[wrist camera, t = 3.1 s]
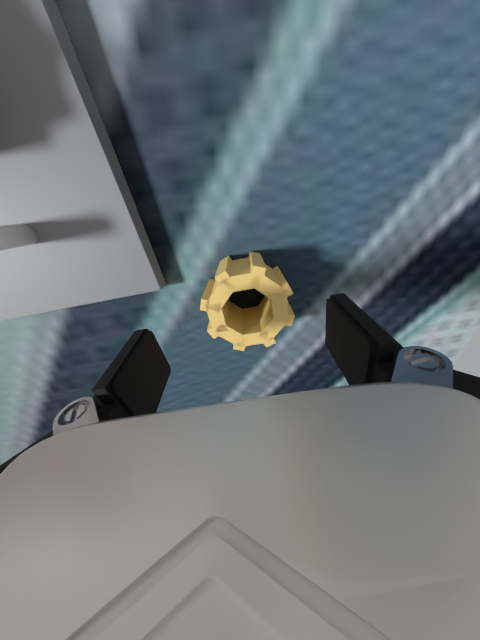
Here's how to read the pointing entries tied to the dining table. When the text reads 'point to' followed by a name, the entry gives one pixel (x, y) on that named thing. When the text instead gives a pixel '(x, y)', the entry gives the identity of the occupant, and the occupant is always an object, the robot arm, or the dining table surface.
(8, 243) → the gear board
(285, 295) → the ochre gear
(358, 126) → the dining table surface
